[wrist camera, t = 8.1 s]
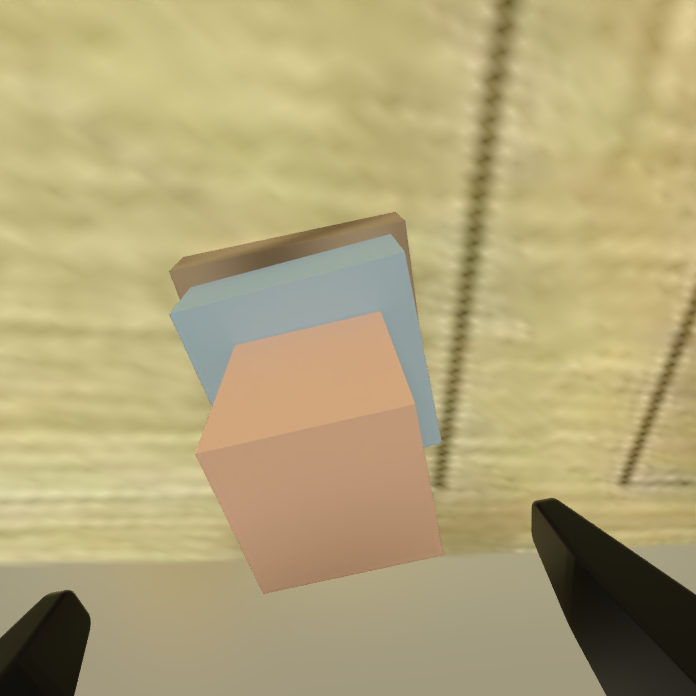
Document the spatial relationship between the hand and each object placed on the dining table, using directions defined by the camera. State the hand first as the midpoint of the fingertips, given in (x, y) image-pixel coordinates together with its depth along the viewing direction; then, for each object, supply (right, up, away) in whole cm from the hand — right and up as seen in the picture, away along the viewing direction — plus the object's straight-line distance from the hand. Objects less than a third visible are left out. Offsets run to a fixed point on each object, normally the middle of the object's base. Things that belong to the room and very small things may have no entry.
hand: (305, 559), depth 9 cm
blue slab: (0, +4, +8) cm, 9 cm away
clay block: (0, +3, +6) cm, 6 cm away
